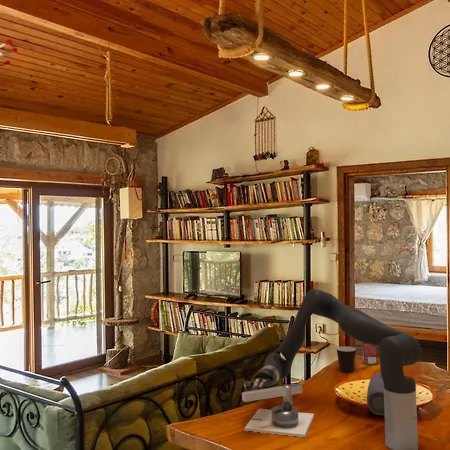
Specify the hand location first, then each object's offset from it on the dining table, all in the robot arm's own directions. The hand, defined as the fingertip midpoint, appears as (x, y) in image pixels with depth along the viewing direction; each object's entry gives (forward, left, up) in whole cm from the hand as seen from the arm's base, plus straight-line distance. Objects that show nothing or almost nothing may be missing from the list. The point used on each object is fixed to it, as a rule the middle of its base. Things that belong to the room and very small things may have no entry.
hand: (253, 394), depth 168 cm
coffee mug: (-22, -72, -12) cm, 76 cm away
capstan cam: (-6, -3, -10) cm, 12 cm away
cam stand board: (-7, -7, -12) cm, 16 cm away
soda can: (-32, -88, -12) cm, 95 cm away
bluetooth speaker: (-39, -31, -12) cm, 51 cm away
